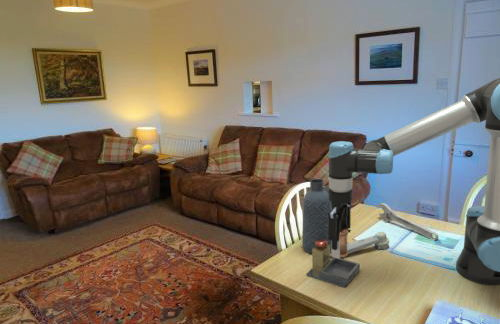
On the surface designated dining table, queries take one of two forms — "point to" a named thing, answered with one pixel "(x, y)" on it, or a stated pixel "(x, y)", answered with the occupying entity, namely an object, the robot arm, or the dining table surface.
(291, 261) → the dining table surface
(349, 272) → the fitting base
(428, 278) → the dining table surface
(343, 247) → the cylinder
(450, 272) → the dining table surface
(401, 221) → the wrench
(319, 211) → the vase
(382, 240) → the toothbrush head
